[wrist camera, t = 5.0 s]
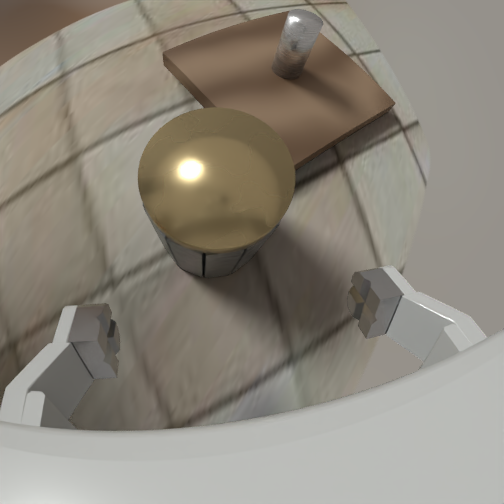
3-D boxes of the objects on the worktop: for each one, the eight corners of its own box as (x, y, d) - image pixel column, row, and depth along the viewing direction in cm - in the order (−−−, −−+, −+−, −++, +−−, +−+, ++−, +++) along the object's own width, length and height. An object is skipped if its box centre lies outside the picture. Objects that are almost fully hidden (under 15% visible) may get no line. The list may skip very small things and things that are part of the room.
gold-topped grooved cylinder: (144, 218, 18) (111, 156, 11) (221, 167, 20) (233, 88, 12) (201, 296, 18) (199, 283, 10) (278, 238, 19) (325, 189, 12)
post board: (163, 64, 21) (162, 52, 20) (287, 20, 24) (290, 10, 23) (272, 185, 20) (277, 176, 19) (387, 112, 24) (395, 103, 22)
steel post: (265, 64, 21) (280, 12, 15) (287, 56, 21) (305, 7, 16) (285, 83, 20) (306, 30, 15) (307, 74, 21) (330, 25, 16)
